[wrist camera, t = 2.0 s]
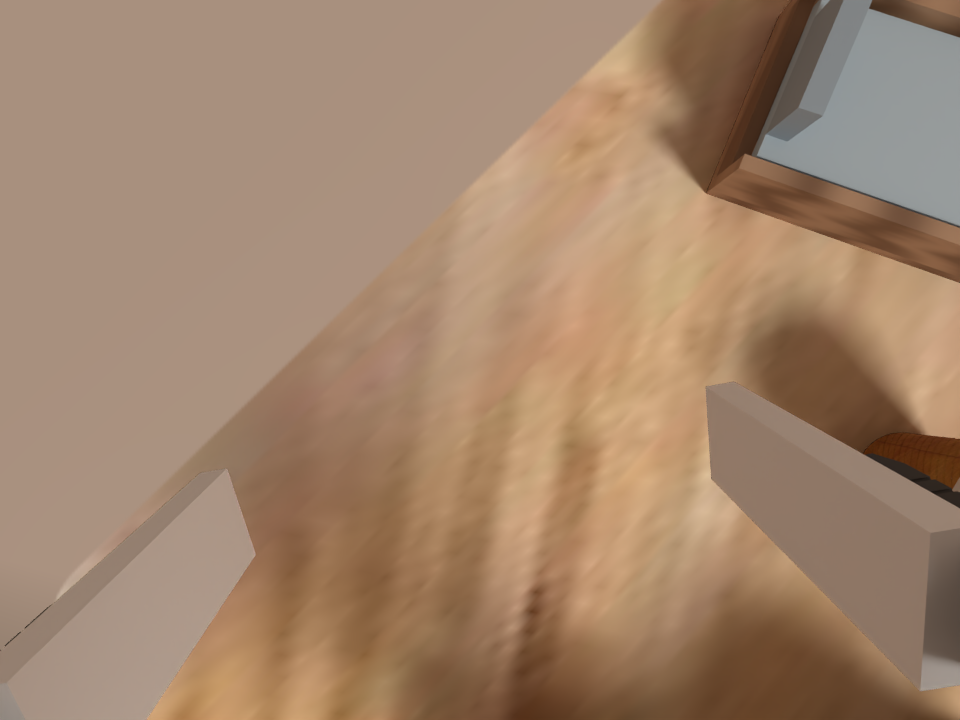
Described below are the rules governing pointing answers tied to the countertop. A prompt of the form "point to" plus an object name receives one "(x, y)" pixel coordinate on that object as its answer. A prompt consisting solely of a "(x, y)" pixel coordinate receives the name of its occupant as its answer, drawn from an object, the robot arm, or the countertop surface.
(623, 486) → the countertop surface
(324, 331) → the countertop surface
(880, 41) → the cover plate
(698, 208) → the countertop surface
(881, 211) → the box body
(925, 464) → the disposable coffee cup
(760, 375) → the countertop surface
